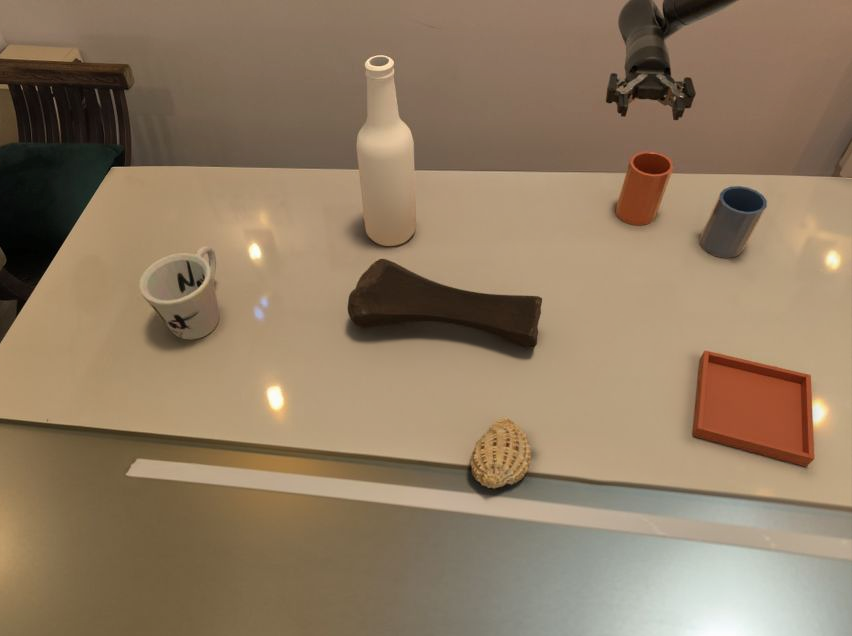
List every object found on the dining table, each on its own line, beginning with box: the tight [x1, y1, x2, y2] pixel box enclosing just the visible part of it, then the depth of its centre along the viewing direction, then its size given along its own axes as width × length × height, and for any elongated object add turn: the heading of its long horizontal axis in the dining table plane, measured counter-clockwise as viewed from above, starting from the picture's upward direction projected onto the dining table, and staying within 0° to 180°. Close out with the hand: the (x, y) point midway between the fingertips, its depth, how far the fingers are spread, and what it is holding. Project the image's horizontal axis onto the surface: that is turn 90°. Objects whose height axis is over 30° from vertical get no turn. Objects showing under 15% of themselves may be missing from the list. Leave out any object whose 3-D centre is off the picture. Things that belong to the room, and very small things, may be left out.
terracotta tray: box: [692, 350, 815, 467], centre depth 79 cm, size 13×13×2 cm
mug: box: [138, 245, 220, 341], centre depth 93 cm, size 10×15×10 cm
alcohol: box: [355, 54, 417, 247], centre depth 94 cm, size 9×9×30 cm
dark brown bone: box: [347, 258, 543, 349], centre depth 90 cm, size 11×10×28 cm
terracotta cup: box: [615, 150, 674, 226], centre depth 101 cm, size 7×7×10 cm
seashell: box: [470, 417, 532, 490], centre depth 76 cm, size 8×6×10 cm
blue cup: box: [699, 185, 768, 259], centre depth 96 cm, size 7×7×9 cm
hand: (651, 113), depth 102 cm, fingers open, 8 cm apart
